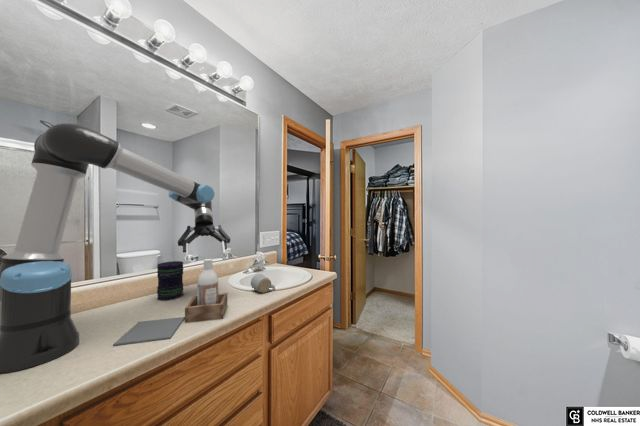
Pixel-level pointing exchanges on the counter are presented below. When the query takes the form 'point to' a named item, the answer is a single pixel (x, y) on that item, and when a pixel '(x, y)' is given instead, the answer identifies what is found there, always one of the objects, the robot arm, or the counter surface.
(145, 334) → the rubber mat
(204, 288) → the bath foam
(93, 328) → the counter surface
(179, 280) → the storage jar
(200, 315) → the wooden tray
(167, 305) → the counter surface
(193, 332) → the counter surface
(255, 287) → the ceramic mug
